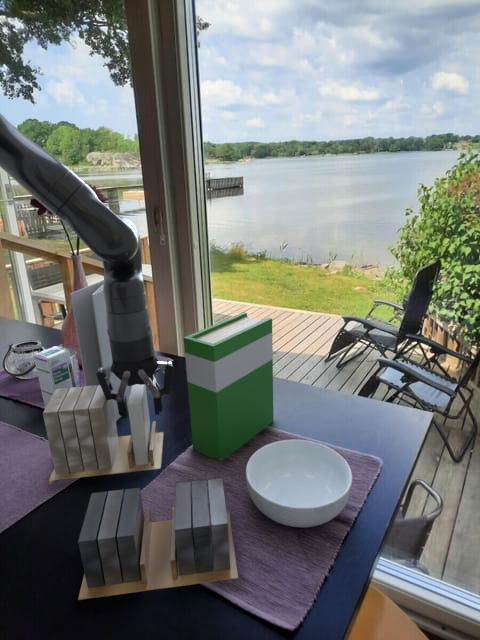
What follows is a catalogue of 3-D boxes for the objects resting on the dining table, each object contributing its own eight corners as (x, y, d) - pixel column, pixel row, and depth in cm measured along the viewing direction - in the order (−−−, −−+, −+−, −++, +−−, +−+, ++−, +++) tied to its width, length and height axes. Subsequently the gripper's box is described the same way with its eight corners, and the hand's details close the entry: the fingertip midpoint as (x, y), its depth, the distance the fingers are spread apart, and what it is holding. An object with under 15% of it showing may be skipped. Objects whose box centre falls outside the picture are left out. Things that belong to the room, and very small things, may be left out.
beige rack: (49, 485, 80) (35, 417, 75) (66, 445, 91) (54, 385, 86) (161, 472, 82) (153, 406, 77) (163, 436, 93) (157, 376, 89)
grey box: (112, 424, 98) (92, 295, 88) (91, 421, 100) (69, 293, 90) (144, 394, 111) (131, 278, 101) (125, 391, 112) (110, 277, 102)
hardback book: (247, 411, 102) (243, 312, 94) (273, 421, 97) (272, 318, 89) (193, 448, 89) (183, 337, 81) (220, 462, 84) (213, 346, 76)
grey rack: (79, 605, 57) (67, 552, 55) (95, 533, 69) (87, 486, 66) (238, 583, 60) (236, 531, 57) (229, 517, 71) (227, 471, 68)
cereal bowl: (244, 544, 66) (243, 506, 63) (248, 471, 81) (247, 438, 79) (360, 546, 65) (362, 507, 62) (341, 471, 80) (342, 438, 78)
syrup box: (59, 415, 103) (48, 358, 98) (44, 408, 106) (32, 353, 101) (79, 404, 107) (70, 349, 102) (64, 398, 110) (54, 344, 106)
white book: (135, 465, 83) (127, 404, 78) (139, 438, 91) (132, 381, 87) (148, 464, 83) (141, 403, 79) (151, 436, 91) (145, 380, 87)
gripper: (171, 321, 83) (179, 401, 88) (93, 328, 81) (106, 408, 87) (170, 336, 76) (179, 421, 81) (84, 343, 74) (99, 429, 80)
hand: (141, 414), depth 84 cm, fingers open, 5 cm apart
